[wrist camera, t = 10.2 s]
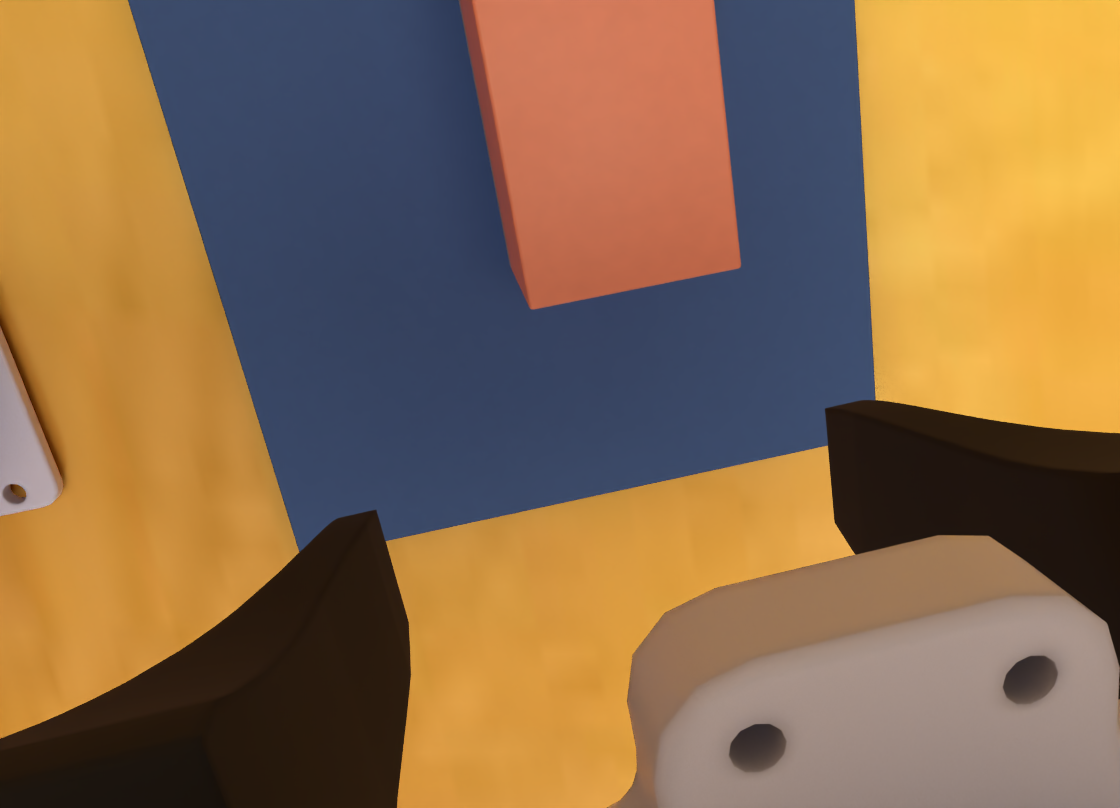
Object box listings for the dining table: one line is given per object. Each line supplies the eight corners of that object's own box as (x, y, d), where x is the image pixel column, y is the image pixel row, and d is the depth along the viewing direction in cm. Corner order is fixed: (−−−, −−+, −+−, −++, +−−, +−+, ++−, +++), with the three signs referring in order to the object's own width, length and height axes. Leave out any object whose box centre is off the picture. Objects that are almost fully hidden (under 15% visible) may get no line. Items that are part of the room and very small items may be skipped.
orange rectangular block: (510, 267, 21) (530, 310, 16) (449, -48, 19) (452, -103, 14) (676, 235, 21) (742, 268, 17) (636, -80, 19) (700, -144, 14)
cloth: (303, 554, 23) (301, 559, 23) (20, -358, 16) (13, -367, 16) (872, 431, 24) (878, 435, 24) (823, -473, 18) (829, -482, 17)
